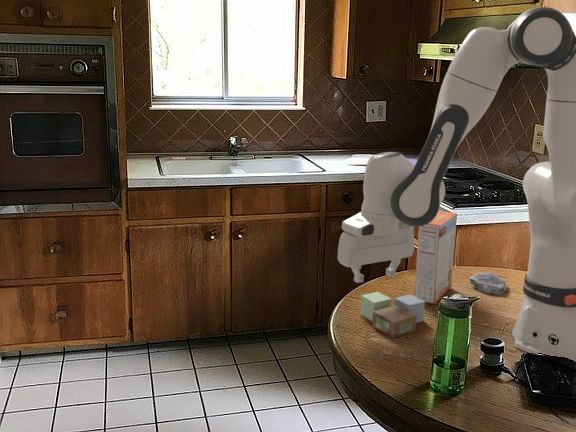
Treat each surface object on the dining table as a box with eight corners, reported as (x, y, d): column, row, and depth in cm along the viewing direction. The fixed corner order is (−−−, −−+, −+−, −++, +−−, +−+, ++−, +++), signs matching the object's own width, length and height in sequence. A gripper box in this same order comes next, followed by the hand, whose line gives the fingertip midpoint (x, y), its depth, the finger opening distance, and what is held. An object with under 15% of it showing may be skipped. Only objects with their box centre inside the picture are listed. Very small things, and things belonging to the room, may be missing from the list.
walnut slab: (416, 331, 148) (417, 315, 147) (393, 339, 144) (394, 322, 143) (394, 320, 154) (395, 305, 153) (371, 327, 150) (372, 311, 149)
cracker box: (430, 283, 177) (436, 209, 171) (451, 288, 174) (459, 212, 169) (411, 300, 165) (417, 221, 160) (434, 305, 162) (441, 225, 157)
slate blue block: (423, 321, 154) (425, 301, 152) (407, 325, 151) (408, 305, 150) (409, 313, 158) (410, 294, 156) (393, 317, 155) (394, 298, 154)
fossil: (514, 285, 170) (477, 276, 169) (509, 300, 170) (472, 291, 170) (500, 274, 181) (466, 266, 181) (496, 288, 182) (462, 280, 181)
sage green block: (389, 318, 155) (391, 298, 153) (373, 322, 152) (374, 302, 151) (376, 310, 159) (378, 291, 157) (360, 314, 156) (361, 295, 155)
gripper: (405, 214, 157) (399, 268, 161) (335, 223, 147) (331, 280, 150) (423, 221, 152) (417, 276, 156) (352, 230, 142) (347, 289, 145)
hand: (374, 278), depth 153 cm, fingers open, 8 cm apart
